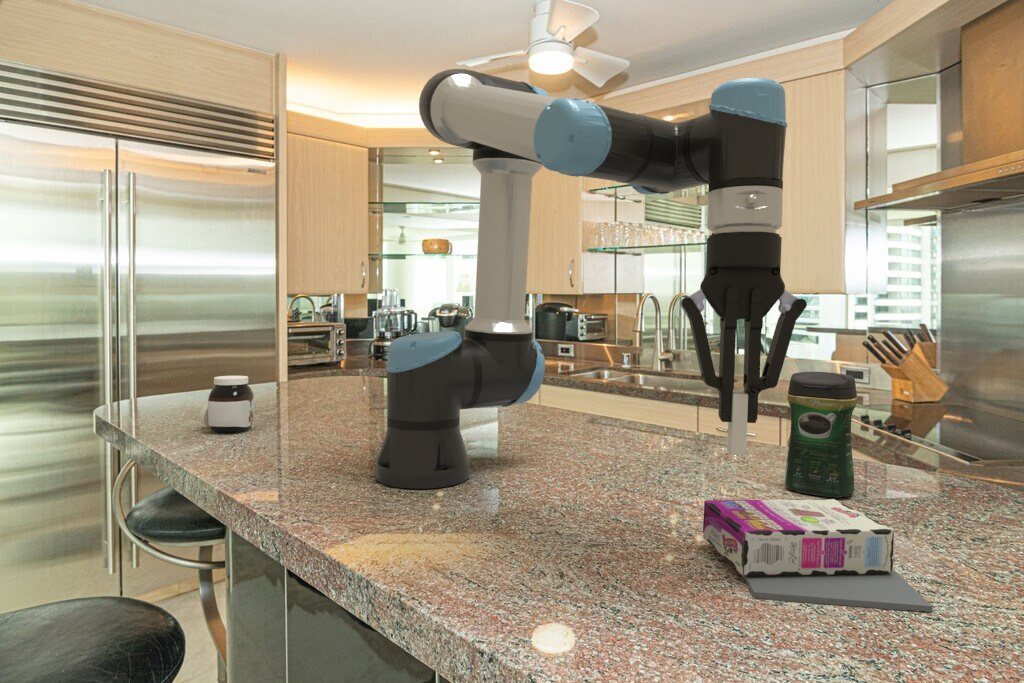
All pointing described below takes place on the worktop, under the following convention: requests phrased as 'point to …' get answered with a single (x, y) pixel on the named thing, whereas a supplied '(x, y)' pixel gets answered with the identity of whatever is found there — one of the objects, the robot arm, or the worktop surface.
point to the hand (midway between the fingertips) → (736, 452)
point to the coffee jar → (821, 434)
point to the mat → (841, 590)
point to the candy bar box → (797, 537)
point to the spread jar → (229, 406)
